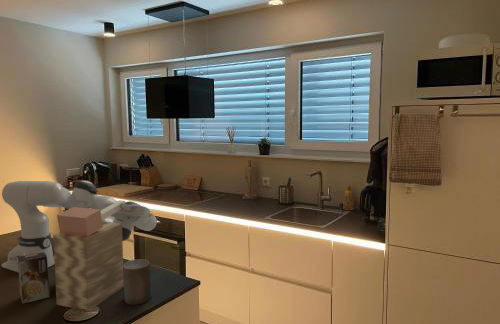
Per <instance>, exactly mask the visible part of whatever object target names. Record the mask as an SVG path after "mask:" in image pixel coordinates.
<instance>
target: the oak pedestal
mask: <svg viewBox="0 0 500 324" xmlns="http://www.w3.org/2000/svg"><path fill="white" fill-rule="evenodd" d="M102 224H103V228H101V229H99V230H98V231H96V232H95V233H93V234H91V235H90V236H88V237H86V236H77V235H69V234H61V233H60V232H57V233H54V234H52V235H53V236H52V237H53V239H52V240H53V256H54V261H55V264H54V277H55V280H54V281H55V297H56V306H62V307H67V308H73V309H77V308H78V310H82V309H86V310H85V311H88V310H89V311H91V310H92V309H94V308H95V307H96V306H99V305H100V304H101V303H102V302H104V301H106V300H107V299H108V298H110V297H111V296H113V295H114V294H116V293H117V292H118V291H120V290H122V289H124V274H123V264H124V252H123V251H124V250H123V249H124V245H123V242H124V241H122V224H120V223H110V222H102ZM90 309H91V310H90Z"/></svg>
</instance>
